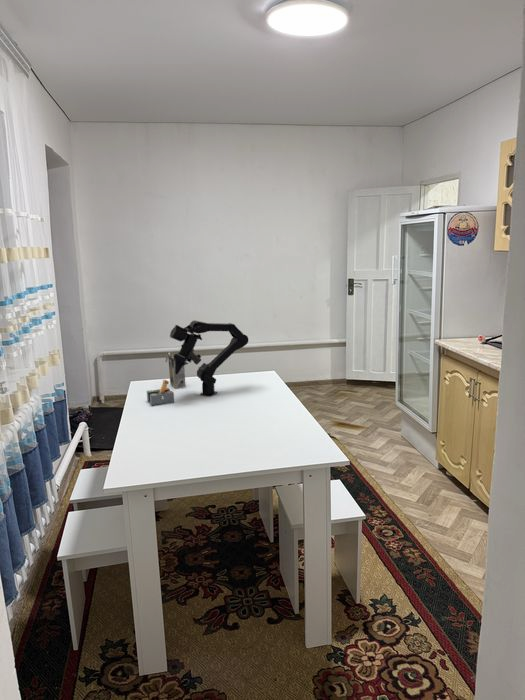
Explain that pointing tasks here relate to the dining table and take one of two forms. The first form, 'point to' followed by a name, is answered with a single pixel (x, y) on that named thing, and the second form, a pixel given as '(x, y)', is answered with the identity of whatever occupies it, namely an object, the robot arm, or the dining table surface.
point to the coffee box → (176, 374)
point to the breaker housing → (160, 397)
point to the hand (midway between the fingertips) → (176, 374)
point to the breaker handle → (163, 386)
